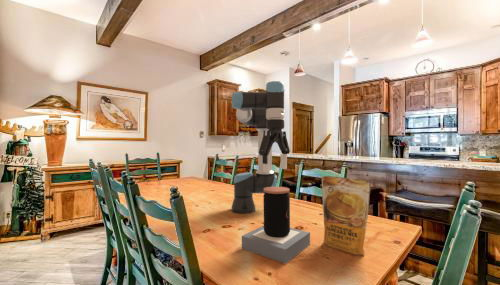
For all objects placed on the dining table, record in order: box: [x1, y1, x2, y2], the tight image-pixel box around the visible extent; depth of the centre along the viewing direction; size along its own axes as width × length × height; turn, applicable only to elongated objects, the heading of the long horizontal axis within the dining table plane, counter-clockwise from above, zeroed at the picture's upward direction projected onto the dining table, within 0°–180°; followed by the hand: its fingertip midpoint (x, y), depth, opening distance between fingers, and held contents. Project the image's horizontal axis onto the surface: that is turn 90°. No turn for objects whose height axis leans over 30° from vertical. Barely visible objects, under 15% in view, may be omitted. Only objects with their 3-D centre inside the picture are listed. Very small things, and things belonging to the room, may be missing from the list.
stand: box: [241, 225, 311, 265], centre depth 96 cm, size 20×20×5 cm
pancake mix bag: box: [320, 175, 372, 256], centre depth 95 cm, size 7×19×28 cm, turn 45°
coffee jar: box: [262, 186, 291, 237], centre depth 97 cm, size 11×11×18 cm
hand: (275, 170), depth 99 cm, fingers open, 13 cm apart
